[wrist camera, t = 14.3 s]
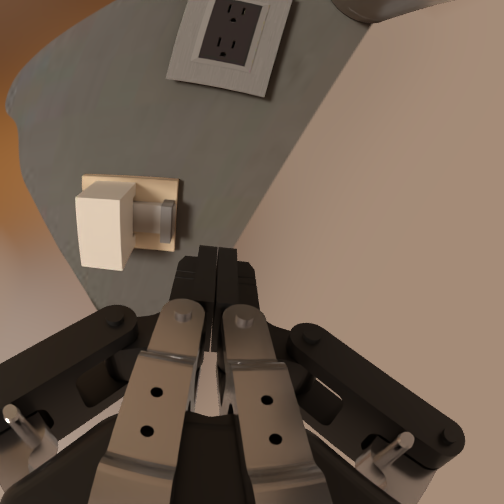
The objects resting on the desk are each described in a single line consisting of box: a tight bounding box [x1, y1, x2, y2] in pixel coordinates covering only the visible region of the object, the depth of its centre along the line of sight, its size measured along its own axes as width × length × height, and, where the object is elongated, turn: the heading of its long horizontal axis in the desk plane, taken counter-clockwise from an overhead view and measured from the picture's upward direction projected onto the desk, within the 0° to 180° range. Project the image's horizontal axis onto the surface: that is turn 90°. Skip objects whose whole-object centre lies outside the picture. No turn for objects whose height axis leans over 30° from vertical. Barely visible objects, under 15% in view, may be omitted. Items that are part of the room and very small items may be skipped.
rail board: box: [82, 174, 179, 251], centre depth 33 cm, size 9×12×3 cm
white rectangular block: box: [75, 180, 136, 271], centre depth 31 cm, size 8×5×6 cm, turn 171°
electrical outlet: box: [166, 0, 292, 97], centre depth 25 cm, size 13×10×2 cm
